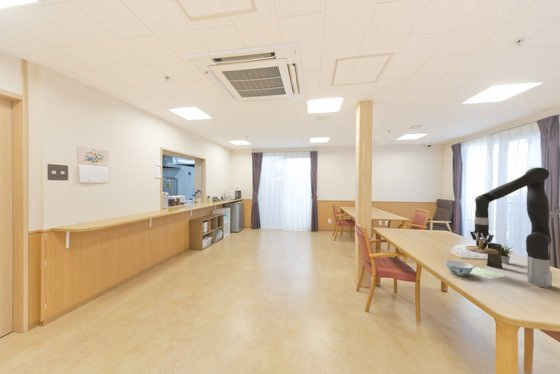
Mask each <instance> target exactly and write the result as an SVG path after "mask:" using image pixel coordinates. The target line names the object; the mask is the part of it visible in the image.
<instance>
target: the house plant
mask: <svg viewBox="0 0 560 374" xmlns="http://www.w3.org/2000/svg"><path fill="white" fill-rule="evenodd" d="M505 244H506V243H504V244H503V246H502V248H501V250H502V251H501V259H502V265H503V264H504V265H508V264H510V258H511V256H510V255H511V253H513V250H512V251H511V249H512V248H513V246H511V247H509V248H508V245H505Z"/></svg>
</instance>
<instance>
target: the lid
mask: <svg viewBox="0 0 560 374" xmlns="http://www.w3.org/2000/svg"><path fill="white" fill-rule="evenodd" d="M483 243H484V242H483V239H482V238H480V239H479V247H478V246H477V245H467V246H465V249H466V250H468V251H470V252H474V253H479V254H484V255H488V254H498V251H497V250H494V249H491V248H488V247H486V248H483Z"/></svg>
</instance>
